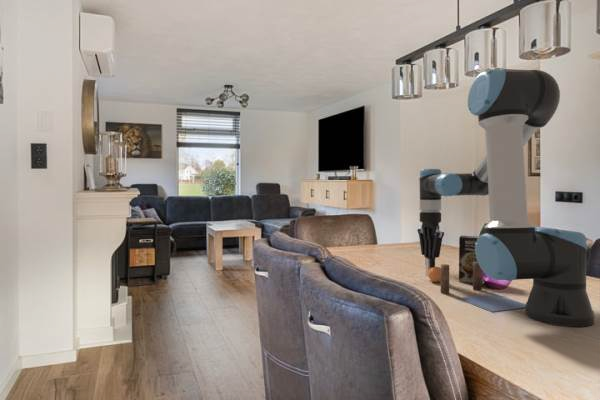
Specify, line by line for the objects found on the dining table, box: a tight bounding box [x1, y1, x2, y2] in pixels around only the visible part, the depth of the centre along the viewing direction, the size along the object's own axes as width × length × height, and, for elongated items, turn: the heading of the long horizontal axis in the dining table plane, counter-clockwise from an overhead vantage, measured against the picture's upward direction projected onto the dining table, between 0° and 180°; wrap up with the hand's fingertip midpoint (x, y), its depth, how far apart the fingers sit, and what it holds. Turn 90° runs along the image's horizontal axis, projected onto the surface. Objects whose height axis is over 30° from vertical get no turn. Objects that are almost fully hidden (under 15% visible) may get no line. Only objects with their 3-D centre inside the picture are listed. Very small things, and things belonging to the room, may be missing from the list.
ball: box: [427, 266, 441, 283], centre depth 145 cm, size 6×6×6 cm
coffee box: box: [458, 235, 485, 285], centre depth 146 cm, size 9×6×16 cm
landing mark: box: [457, 293, 526, 313], centre depth 119 cm, size 14×14×1 cm
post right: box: [472, 262, 483, 291], centre depth 134 cm, size 3×3×9 cm
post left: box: [440, 263, 450, 295], centre depth 130 cm, size 3×3×9 cm
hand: (430, 275), depth 148 cm, fingers closed
